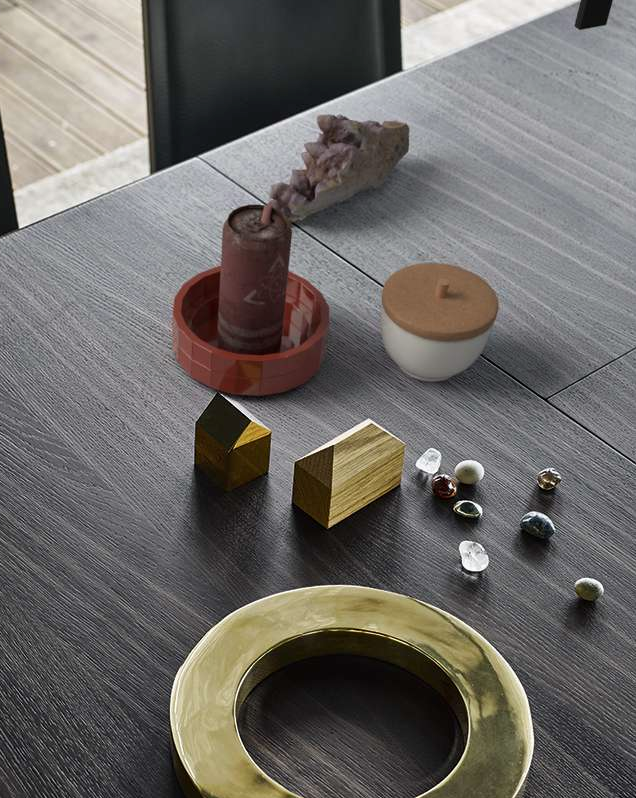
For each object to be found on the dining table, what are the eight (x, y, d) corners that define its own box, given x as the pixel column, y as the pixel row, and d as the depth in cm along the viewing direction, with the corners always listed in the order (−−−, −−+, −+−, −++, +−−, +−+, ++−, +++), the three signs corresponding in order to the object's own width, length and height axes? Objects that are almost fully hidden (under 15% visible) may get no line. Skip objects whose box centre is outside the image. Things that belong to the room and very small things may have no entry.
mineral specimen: (347, 210, 128) (302, 121, 126) (276, 246, 135) (232, 162, 133) (431, 157, 143) (391, 77, 141) (363, 192, 150) (324, 116, 148)
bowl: (342, 326, 124) (348, 285, 120) (297, 419, 114) (301, 377, 111) (204, 290, 127) (206, 249, 123) (148, 377, 117) (148, 335, 114)
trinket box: (417, 412, 116) (434, 332, 109) (349, 346, 122) (361, 267, 115) (505, 375, 120) (527, 296, 113) (436, 314, 126) (452, 235, 119)
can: (285, 328, 122) (297, 204, 112) (275, 370, 118) (287, 245, 107) (224, 319, 122) (231, 195, 112) (211, 360, 118) (217, 234, 108)
